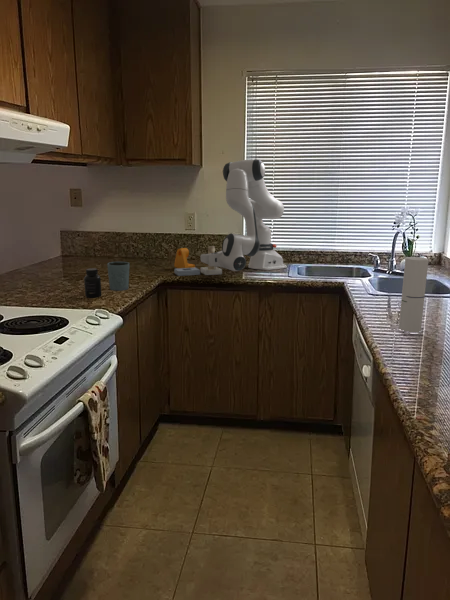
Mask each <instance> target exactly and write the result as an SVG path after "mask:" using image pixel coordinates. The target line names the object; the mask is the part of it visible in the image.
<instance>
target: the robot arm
mask: <svg viewBox="0 0 450 600" xmlns="http://www.w3.org/2000/svg"><path fill="white" fill-rule="evenodd" d="M265 173H266V166H265V164H264V162H263V161H262V160H260V159H257V158H254V159H242V160H237V161H231V162H227V163H225V164H224V166H223V169H222V175H223V179H224V180H225V182H226V188H225V200H226V204H227V205H228V207H230V209H232V210H234V211H235V212H237V213H238V214H239V215H241V216H242V217H243V219H244V220H245V229H246V235H245V234H239V233H238V234H237V233H228V234H227V235H226V236H225V237H224V239H223V241H222V245H221V247H222V248H221V249H222V250H220V251H216V252H215V253H210V254H208V253H202V254H200V262H201V263H203V264H205V265H208V264H209V266H215V267H218V268H219V267H220V268H222V269H227V270H230V271H233V272H239V271H242V270H243V269H245V267H246V265H247V260H246V258H245V256H248V257H250V259H249V263H248V266H247V267H248V268H249V269H252V270H253V269H255V270H264V271H269V270H270V271H272V270H278V269H279V270H281V269H287V267H288V266H287V265H286V264H285V263H284V259H283V257H282V255H281V254H279V253H278V252H277V251H276V250H275V249H276V248H277V247H278V246H277V244H274V243H271V242H272V231H271V228H270V227H269V226H268V225H266V224H265V223H264V221H263V220H276V219H277V220H278V219H280V218H281V217H282V216H283V214H284V213H285V206H284V203H283V202H282V201H281V200H279V199H277V198H275V197H274V195H273V194H271V193H270V192H269V190H268V188H267V185H266V182H265V178H264V177H265Z"/></svg>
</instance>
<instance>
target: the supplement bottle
mask: <svg viewBox="0 0 450 600" xmlns="http://www.w3.org/2000/svg"><path fill="white" fill-rule="evenodd" d="M85 273H86V275H85V276H84V278H83V281H84V282H83V283H84V293H85V297H86V298H89V299H95V298H96V299H97V298H101V296H102V294H103V293H102V282H101V280H102V279H101V276H100V275H99V274H98V273H99V272H98V268H96V267H95V268H93V267H91V268H87V269H85Z"/></svg>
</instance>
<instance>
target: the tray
mask: <svg viewBox="0 0 450 600" xmlns="http://www.w3.org/2000/svg"><path fill="white" fill-rule="evenodd" d="M200 274H203V275H205V276H211V275H212V276H214V275H222V274H223V268H221V267H220V268H219V267H216V266H215V270H208V266H205V267H200Z"/></svg>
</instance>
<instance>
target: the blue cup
mask: <svg viewBox="0 0 450 600" xmlns="http://www.w3.org/2000/svg"><path fill="white" fill-rule="evenodd" d="M106 265H107V274H108V275H107V276H108V285H109V290H111V291H115V292H116V291H121V292H122V291H126V290H129V283H130V262H127V261H111V262H110V261H109V262H108V263H107V264H106Z"/></svg>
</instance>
